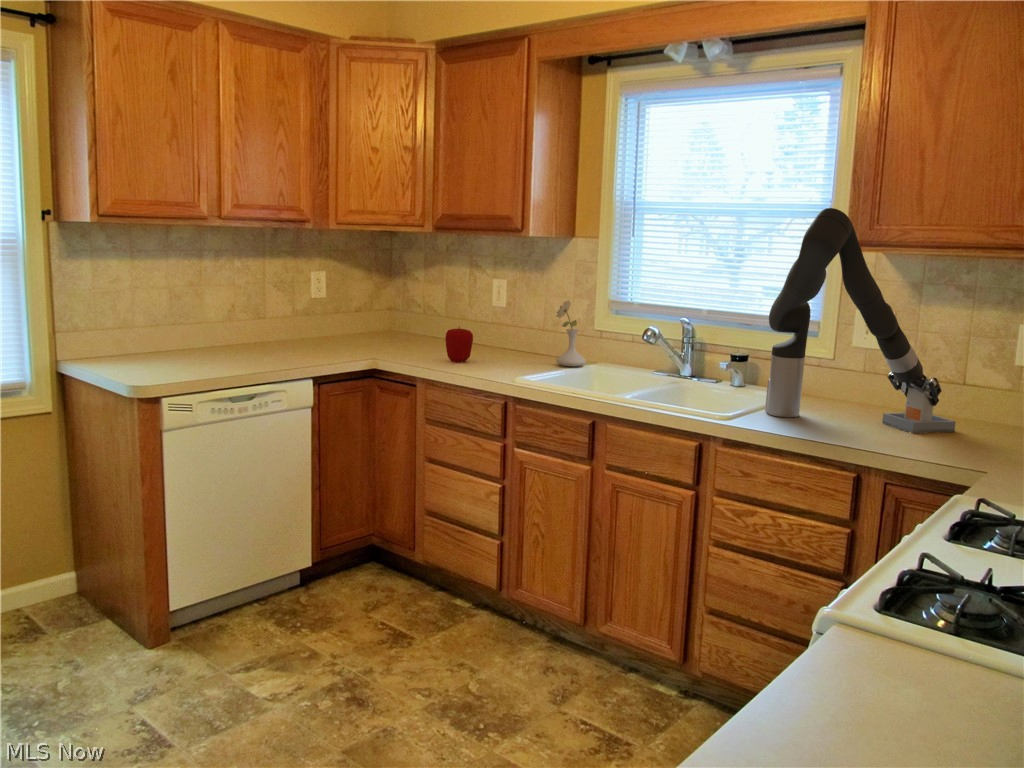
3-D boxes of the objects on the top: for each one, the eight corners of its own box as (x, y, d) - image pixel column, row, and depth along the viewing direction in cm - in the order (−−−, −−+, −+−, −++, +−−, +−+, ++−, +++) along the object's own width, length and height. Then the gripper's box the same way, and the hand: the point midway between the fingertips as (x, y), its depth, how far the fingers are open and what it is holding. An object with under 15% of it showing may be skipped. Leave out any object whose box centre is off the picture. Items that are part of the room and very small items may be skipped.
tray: (882, 423, 249) (883, 413, 249) (922, 422, 253) (924, 412, 253) (912, 433, 238) (913, 422, 237) (954, 431, 242) (955, 421, 241)
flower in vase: (572, 362, 340) (575, 298, 336) (592, 367, 332) (595, 300, 327) (546, 365, 332) (549, 299, 328) (566, 369, 324) (569, 301, 319)
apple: (474, 363, 329) (475, 327, 327) (447, 363, 327) (448, 327, 324) (469, 359, 339) (470, 324, 337) (443, 359, 337) (443, 324, 334)
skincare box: (903, 419, 247) (908, 377, 245) (914, 418, 249) (920, 376, 247) (920, 423, 242) (926, 380, 240) (932, 423, 243) (937, 380, 241)
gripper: (872, 367, 242) (894, 406, 250) (920, 376, 230) (941, 416, 238) (886, 347, 244) (907, 386, 252) (934, 355, 232) (955, 396, 240)
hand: (923, 401), depth 245 cm, fingers open, 6 cm apart
